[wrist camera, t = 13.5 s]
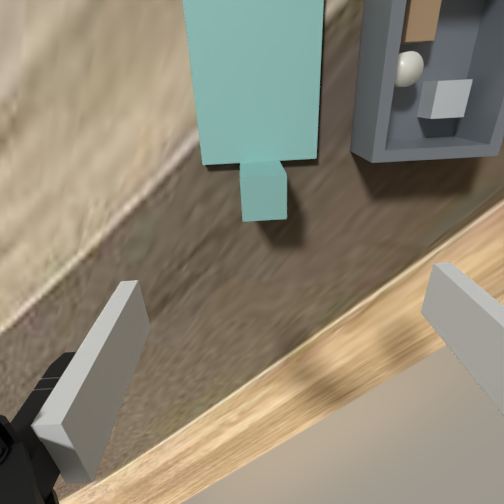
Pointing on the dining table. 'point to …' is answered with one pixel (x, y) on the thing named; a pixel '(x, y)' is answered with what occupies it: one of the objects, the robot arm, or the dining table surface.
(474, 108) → the tub
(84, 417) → the robot arm
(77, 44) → the dining table surface
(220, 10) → the lid
